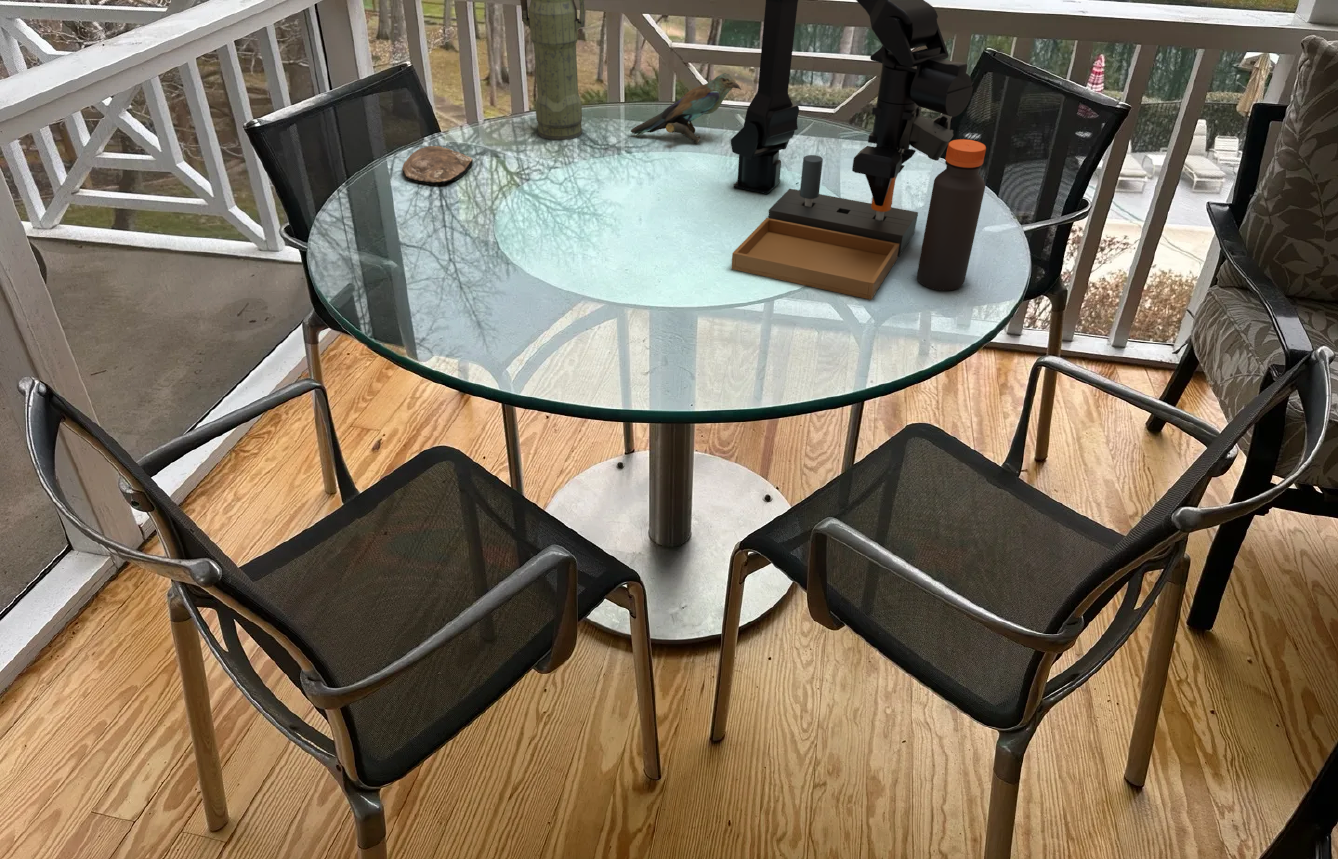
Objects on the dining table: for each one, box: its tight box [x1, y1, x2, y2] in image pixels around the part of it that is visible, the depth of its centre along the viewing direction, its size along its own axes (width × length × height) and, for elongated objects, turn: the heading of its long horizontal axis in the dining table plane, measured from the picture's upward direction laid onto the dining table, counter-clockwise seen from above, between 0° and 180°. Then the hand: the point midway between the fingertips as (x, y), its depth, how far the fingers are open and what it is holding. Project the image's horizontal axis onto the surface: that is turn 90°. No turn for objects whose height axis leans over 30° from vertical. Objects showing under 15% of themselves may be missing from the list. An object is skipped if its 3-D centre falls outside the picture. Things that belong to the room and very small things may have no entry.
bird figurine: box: [630, 72, 742, 145], centre depth 180 cm, size 13×10×20 cm
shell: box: [401, 145, 474, 186], centre depth 167 cm, size 12×13×4 cm
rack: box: [767, 188, 919, 258], centre depth 149 cm, size 10×21×4 cm, turn 64°
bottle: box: [916, 138, 987, 292], centre depth 130 cm, size 7×7×20 cm
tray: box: [731, 217, 899, 301], centre depth 139 cm, size 21×14×3 cm
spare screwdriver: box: [799, 154, 824, 207], centre depth 148 cm, size 3×3×11 cm
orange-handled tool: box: [871, 176, 897, 221], centre depth 144 cm, size 3×3×11 cm
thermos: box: [519, 0, 586, 141], centre depth 176 cm, size 9×12×35 cm
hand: (881, 201), depth 144 cm, fingers closed on orange-handled tool, 3 cm apart
